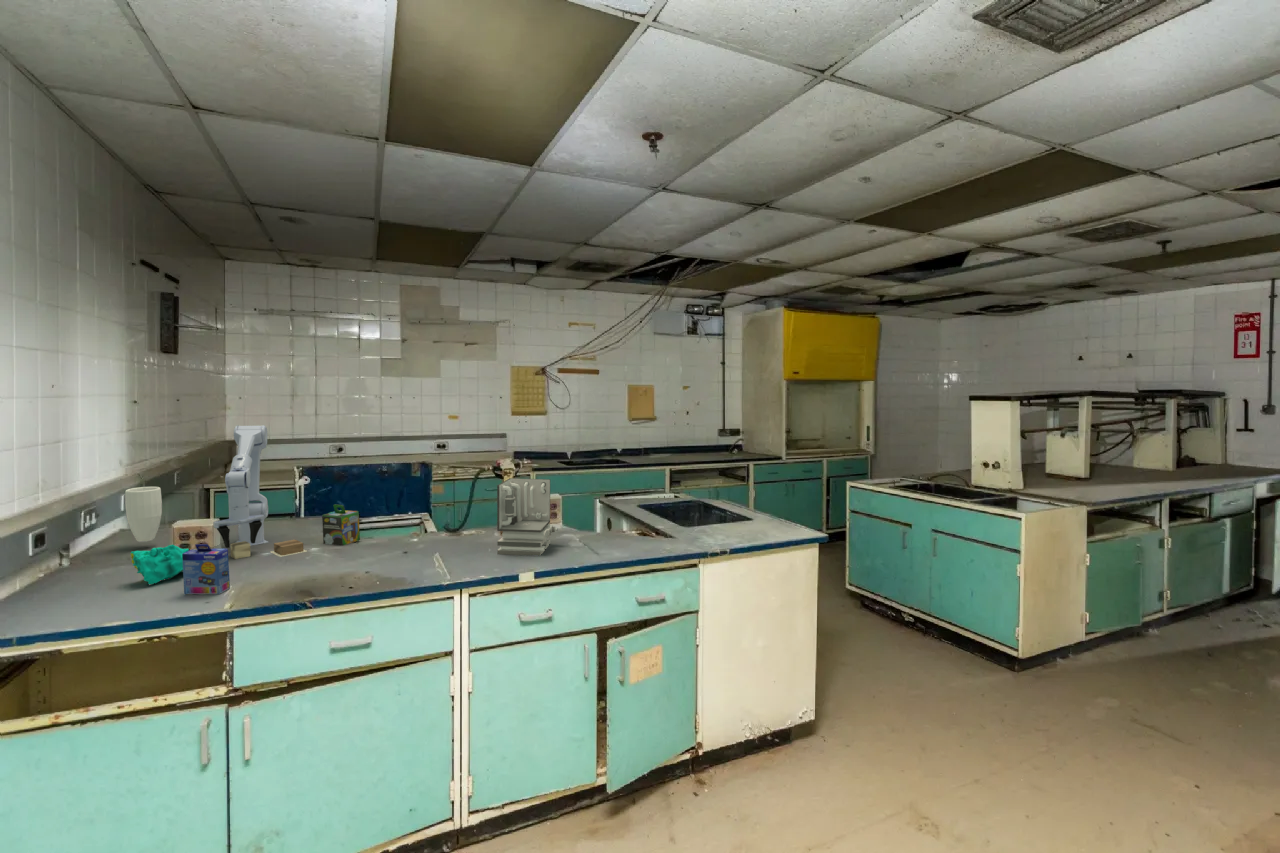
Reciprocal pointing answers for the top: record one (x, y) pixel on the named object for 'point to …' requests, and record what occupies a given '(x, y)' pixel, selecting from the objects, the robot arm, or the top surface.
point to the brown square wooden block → (288, 547)
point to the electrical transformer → (524, 516)
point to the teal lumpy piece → (158, 563)
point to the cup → (143, 511)
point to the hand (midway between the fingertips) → (240, 545)
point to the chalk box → (340, 526)
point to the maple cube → (240, 550)
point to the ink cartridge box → (205, 570)
